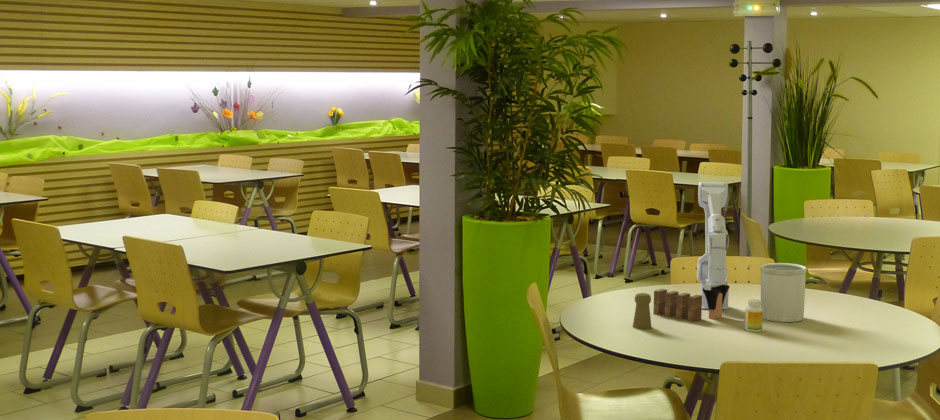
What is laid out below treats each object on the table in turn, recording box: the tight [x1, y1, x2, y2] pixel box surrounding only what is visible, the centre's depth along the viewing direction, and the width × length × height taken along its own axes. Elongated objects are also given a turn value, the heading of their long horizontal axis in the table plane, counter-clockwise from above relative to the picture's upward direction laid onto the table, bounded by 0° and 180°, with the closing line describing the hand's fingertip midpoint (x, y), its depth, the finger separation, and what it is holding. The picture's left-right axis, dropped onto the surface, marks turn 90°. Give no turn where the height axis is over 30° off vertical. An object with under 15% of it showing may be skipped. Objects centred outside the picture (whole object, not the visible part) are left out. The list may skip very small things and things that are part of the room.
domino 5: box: [708, 293, 723, 320], centre depth 332 cm, size 2×5×8 cm, turn 136°
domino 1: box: [653, 288, 668, 316], centre depth 337 cm, size 2×5×8 cm, turn 136°
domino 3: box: [675, 292, 691, 320], centre depth 331 cm, size 2×5×8 cm, turn 136°
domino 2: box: [664, 290, 680, 318], centre depth 334 cm, size 2×5×8 cm, turn 136°
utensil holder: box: [759, 262, 808, 323], centre depth 331 cm, size 15×15×18 cm
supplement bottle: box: [744, 298, 763, 333], centre depth 314 cm, size 5×5×10 cm
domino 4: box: [687, 294, 703, 322], centre depth 328 cm, size 2×5×8 cm, turn 136°
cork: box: [632, 292, 652, 330], centre depth 318 cm, size 6×6×11 cm
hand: (715, 307), depth 332 cm, fingers closed on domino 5, 5 cm apart
